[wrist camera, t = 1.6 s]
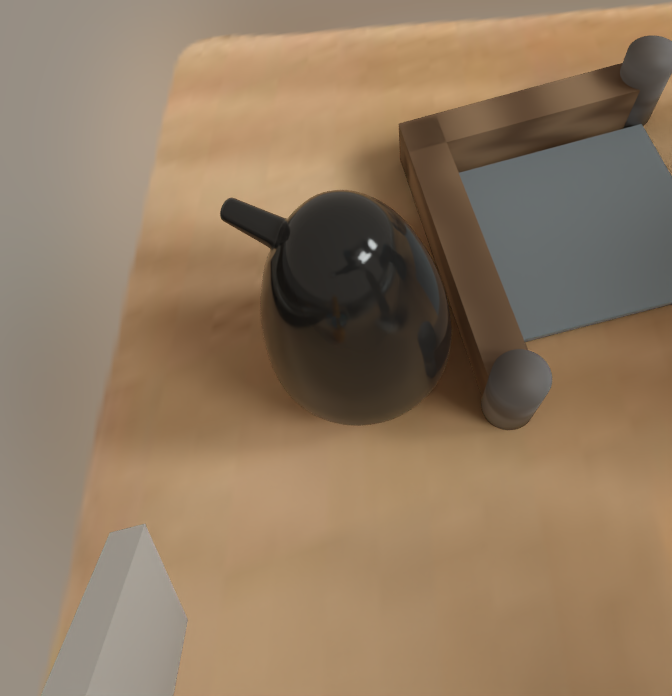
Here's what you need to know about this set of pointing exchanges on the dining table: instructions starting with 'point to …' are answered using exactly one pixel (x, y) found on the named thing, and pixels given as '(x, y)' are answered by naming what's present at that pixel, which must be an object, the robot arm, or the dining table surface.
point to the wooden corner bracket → (461, 223)
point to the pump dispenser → (348, 306)
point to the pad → (578, 230)
